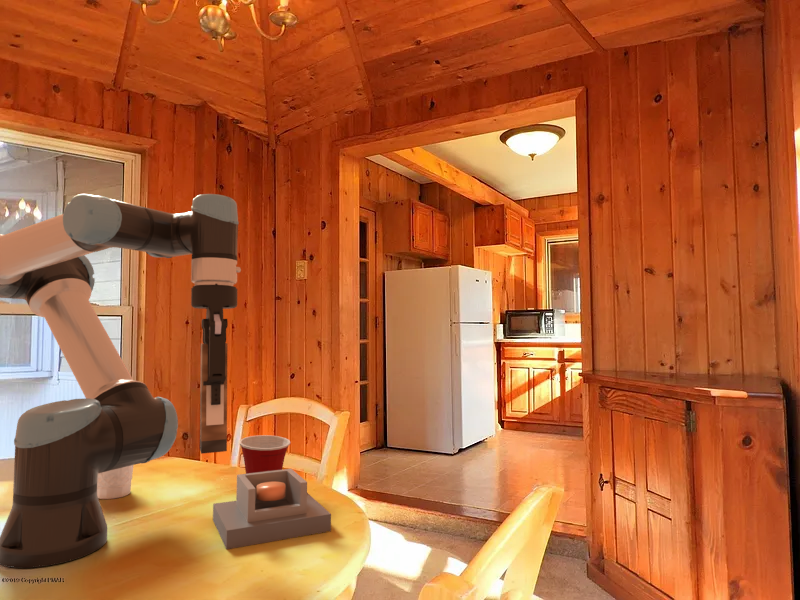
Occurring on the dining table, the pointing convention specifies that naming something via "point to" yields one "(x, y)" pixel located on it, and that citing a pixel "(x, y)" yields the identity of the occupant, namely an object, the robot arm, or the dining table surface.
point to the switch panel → (269, 511)
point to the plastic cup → (264, 453)
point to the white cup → (114, 483)
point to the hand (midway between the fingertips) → (213, 422)
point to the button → (270, 491)
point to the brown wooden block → (210, 435)
